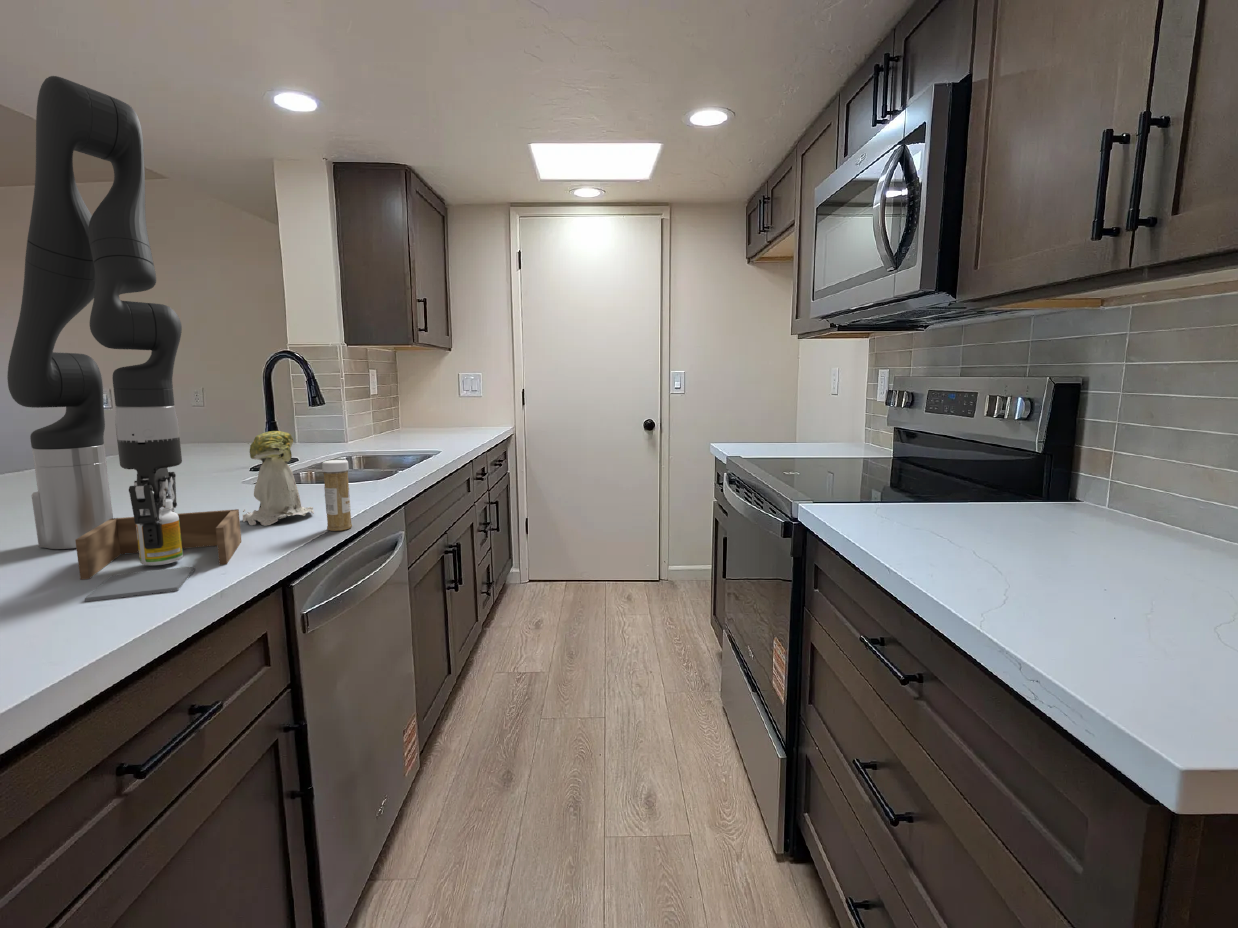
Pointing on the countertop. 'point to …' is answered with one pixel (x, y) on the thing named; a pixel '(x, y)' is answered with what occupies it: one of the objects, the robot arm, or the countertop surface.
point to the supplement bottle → (171, 540)
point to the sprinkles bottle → (337, 495)
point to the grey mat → (141, 583)
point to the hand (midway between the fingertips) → (160, 542)
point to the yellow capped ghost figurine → (274, 479)
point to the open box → (122, 538)
